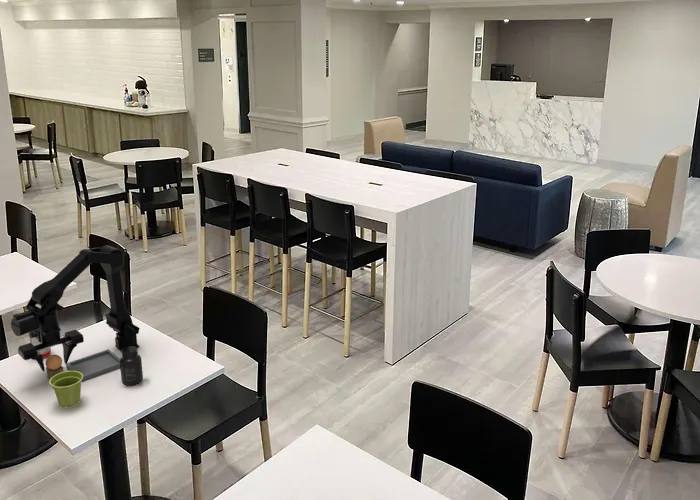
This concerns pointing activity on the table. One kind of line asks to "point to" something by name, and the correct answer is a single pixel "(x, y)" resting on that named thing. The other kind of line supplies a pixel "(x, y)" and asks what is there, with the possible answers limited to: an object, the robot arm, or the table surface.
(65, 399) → the plant pot
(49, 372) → the brown wooden open cube
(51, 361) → the ball
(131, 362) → the supplement bottle
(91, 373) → the tray
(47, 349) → the beer can
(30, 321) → the robot arm
